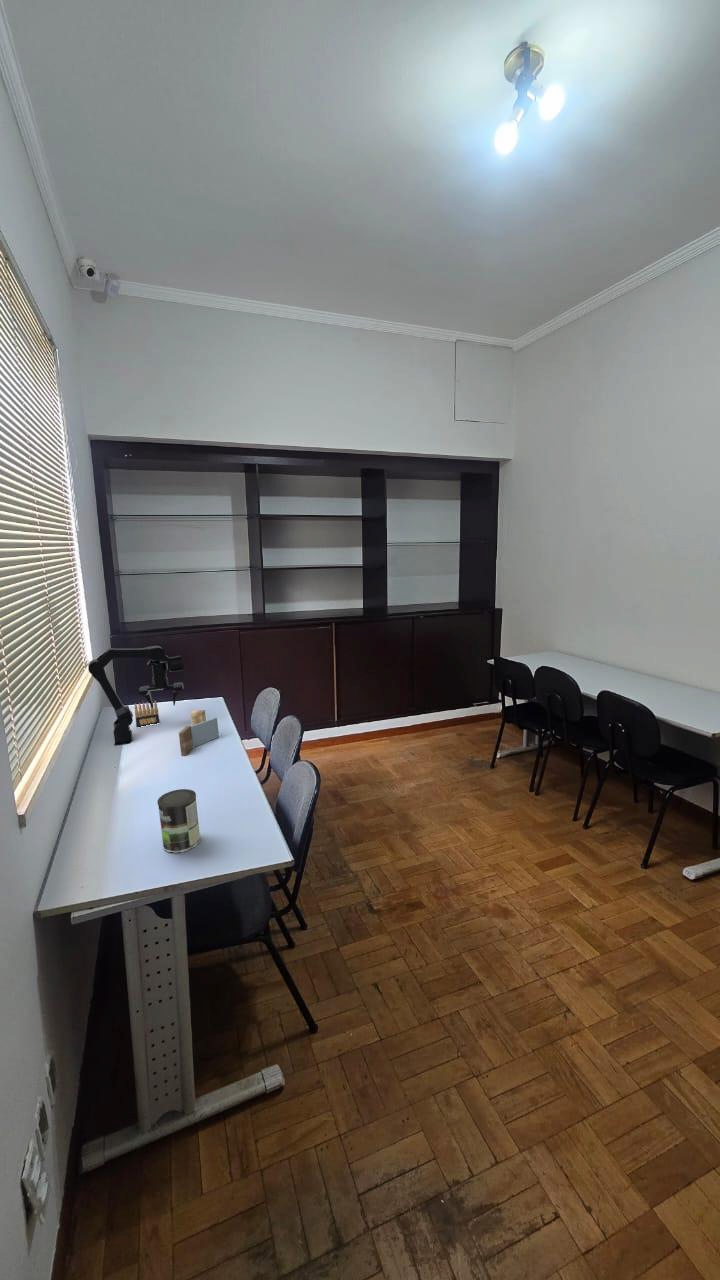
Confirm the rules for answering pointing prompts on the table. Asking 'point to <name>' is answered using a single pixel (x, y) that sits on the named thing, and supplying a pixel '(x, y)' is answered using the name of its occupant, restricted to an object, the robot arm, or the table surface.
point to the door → (204, 731)
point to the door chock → (198, 716)
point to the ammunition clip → (146, 715)
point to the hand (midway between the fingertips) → (163, 706)
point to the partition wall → (186, 740)
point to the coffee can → (179, 820)
